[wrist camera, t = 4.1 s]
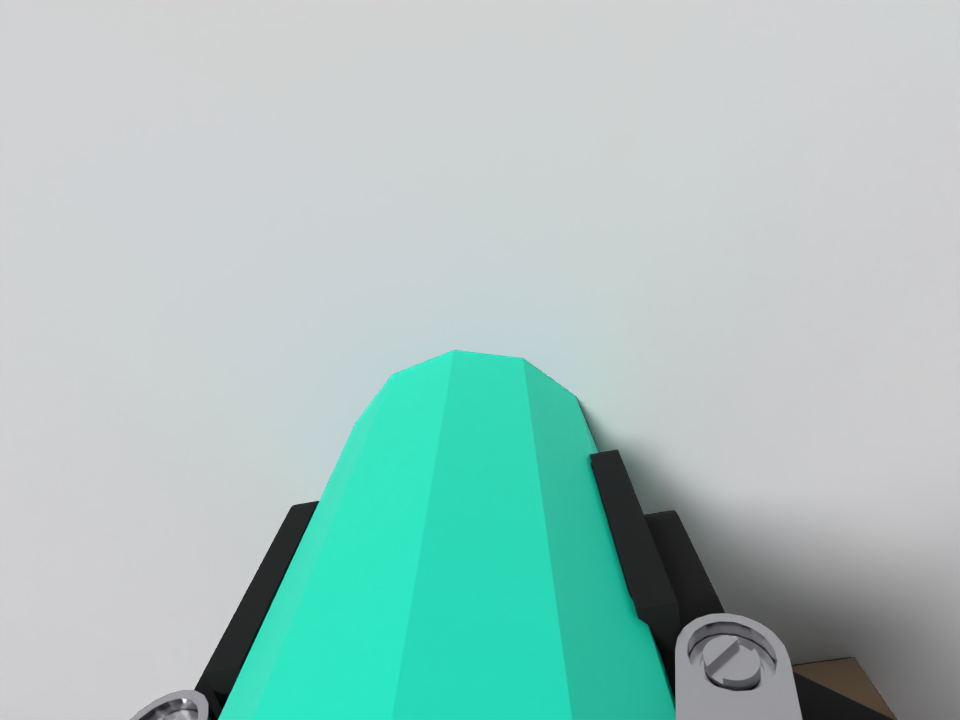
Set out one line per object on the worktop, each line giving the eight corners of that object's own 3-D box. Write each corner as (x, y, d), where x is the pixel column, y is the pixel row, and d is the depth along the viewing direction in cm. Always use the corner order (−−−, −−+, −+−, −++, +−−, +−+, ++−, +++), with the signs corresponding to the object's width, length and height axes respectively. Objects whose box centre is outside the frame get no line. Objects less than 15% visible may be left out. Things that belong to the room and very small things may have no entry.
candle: (646, 485, 14) (1175, 1702, 3) (454, 601, 16) (367, 1724, 5) (496, 296, 13) (527, 1449, 2) (298, 444, 14) (-410, 1604, 3)
